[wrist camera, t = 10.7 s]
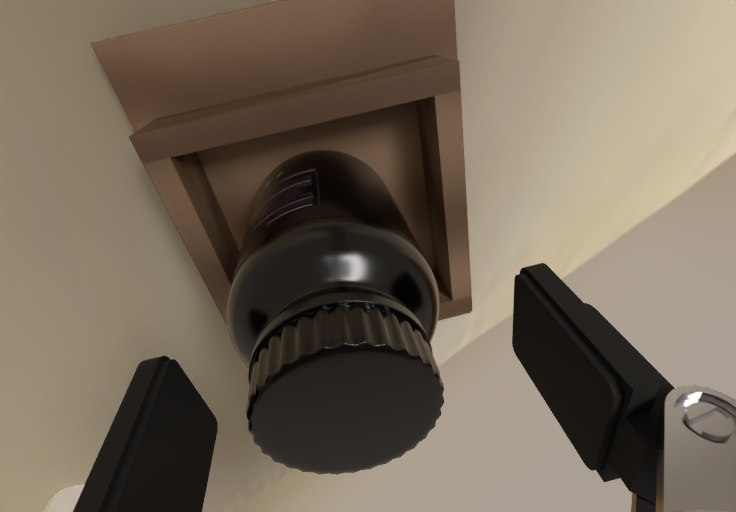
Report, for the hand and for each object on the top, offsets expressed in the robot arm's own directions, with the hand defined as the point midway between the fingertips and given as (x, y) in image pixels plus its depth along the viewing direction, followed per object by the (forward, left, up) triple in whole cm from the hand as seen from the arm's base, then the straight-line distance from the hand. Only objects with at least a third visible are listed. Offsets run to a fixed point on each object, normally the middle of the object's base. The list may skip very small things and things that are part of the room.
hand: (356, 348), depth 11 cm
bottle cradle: (+1, 0, -11) cm, 11 cm away
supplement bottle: (0, 0, -10) cm, 10 cm away
